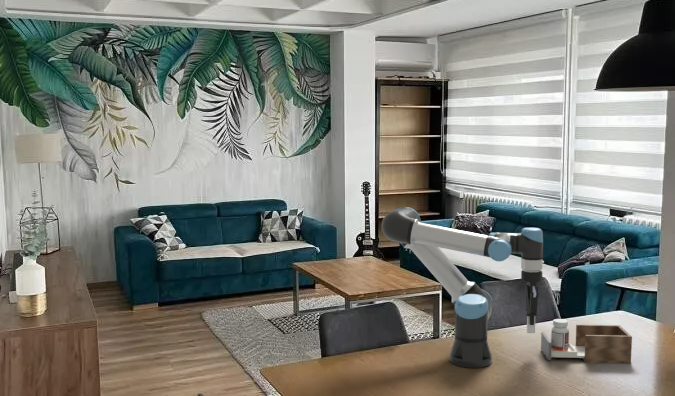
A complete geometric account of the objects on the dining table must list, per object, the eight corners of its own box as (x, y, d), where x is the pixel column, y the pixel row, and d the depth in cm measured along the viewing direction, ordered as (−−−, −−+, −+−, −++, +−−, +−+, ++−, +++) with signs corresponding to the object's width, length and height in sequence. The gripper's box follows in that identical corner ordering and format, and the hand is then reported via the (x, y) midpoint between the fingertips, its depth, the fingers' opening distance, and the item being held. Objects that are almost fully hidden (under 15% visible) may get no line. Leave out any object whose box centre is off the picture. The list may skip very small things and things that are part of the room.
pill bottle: (563, 347, 268) (564, 318, 267) (571, 352, 262) (572, 322, 261) (548, 348, 267) (549, 318, 266) (555, 353, 261) (556, 323, 260)
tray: (548, 360, 259) (548, 342, 258) (540, 348, 272) (541, 331, 271) (592, 361, 258) (593, 343, 257) (583, 349, 271) (584, 332, 270)
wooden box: (585, 362, 258) (586, 335, 256) (575, 350, 271) (576, 324, 270) (630, 363, 256) (632, 336, 255) (618, 351, 270) (619, 325, 269)
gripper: (546, 273, 256) (545, 338, 258) (538, 266, 268) (537, 327, 271) (524, 273, 256) (523, 337, 259) (518, 266, 269) (517, 327, 272)
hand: (530, 332), depth 265 cm, fingers closed
